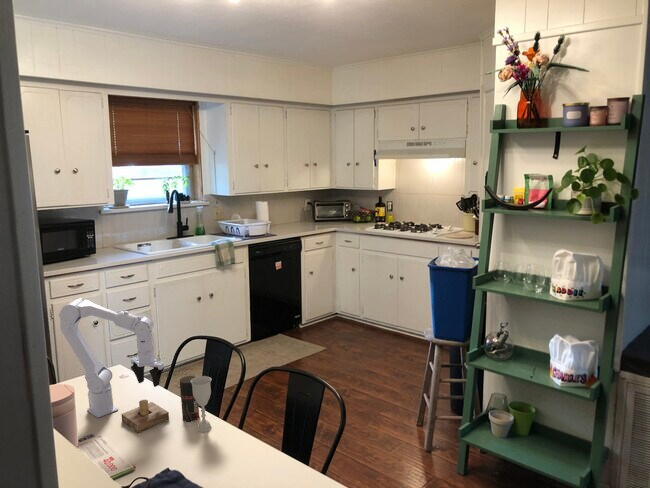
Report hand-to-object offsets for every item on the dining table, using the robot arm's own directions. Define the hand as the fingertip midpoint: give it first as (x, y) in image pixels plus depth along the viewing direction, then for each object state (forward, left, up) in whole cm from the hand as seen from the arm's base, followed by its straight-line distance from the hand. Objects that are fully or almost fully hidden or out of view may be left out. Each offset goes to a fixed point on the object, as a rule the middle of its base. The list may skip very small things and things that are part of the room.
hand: (148, 383), depth 198 cm
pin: (+7, -6, -9) cm, 13 cm away
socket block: (+7, -6, -10) cm, 14 cm away
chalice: (+28, +5, -10) cm, 30 cm away
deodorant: (+18, +6, -10) cm, 22 cm away
